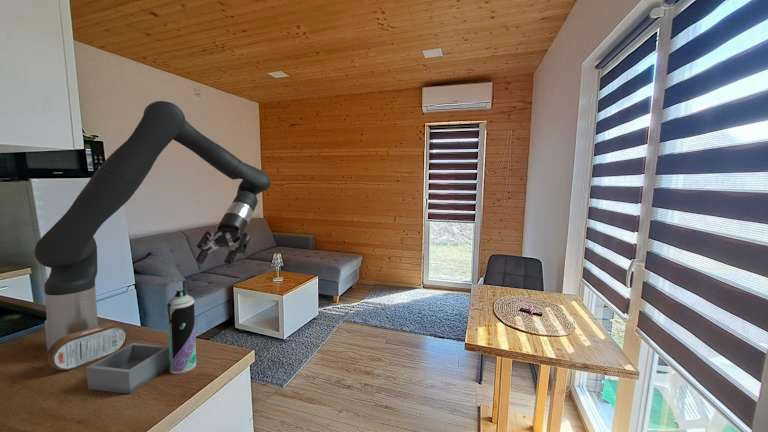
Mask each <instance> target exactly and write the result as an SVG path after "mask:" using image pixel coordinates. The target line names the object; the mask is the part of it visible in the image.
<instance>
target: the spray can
mask: <svg viewBox="0 0 768 432" xmlns="http://www.w3.org/2000/svg"><path fill="white" fill-rule="evenodd" d="M166 306H167V308H166V309H167V310H166V311H167V328H168V329H167V330H168V331H167V333H168V334H167V335H168V346H169V361H170V366H169V372H170V374H173V375H181V374H185V373H189V371H191V370H193V369H194V368H195V367H196V366H197V349H196V348H197V346H196V345H197V344H196V343H197V342H196V321H195V319H196V315H195V314H196V313H195V299H194V297H193V296H191V295H189V294H188V293H186V290H185V289H180V290H176V292H175V295H173V297H172V298H171V299H169V300H167V305H166Z"/></svg>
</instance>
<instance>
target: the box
mask: <svg viewBox="0 0 768 432" xmlns="http://www.w3.org/2000/svg"><path fill="white" fill-rule="evenodd" d="M168 368H170V361H169V345H158V344H148V343H147V344H146V343H139V342H138V343H137V342H132V343H130V344H128V345H126V346H123V347H122V348H121V349H120V350H119V351H117V352H115V353H113V354H111V355H109V356H107V357H104V358H101V359H99V360H97V361H96V362H94V363H92V364H91V365H88V366H87V367H86V379H87V380H86V381H87V389H89V390H95V391H103V392H111V393H112V392H113V393H121V394H126V395H127V394H128V395H129V394H133V393H134V392H135V391H137V390H138V389H139V388H141V387H142V386H144V385H145V384H147V383H148V382H149V381H151V380H152V379H154V378H155V377H157V376H158V375H160V374H161V373H162V372H164V371H165V370H167V369H168Z"/></svg>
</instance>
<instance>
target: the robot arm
mask: <svg viewBox="0 0 768 432" xmlns="http://www.w3.org/2000/svg"><path fill="white" fill-rule="evenodd" d="M185 117H186V115H185V114H184V112H183V110H182V108H180V107H179V106H178V105H177V104H174V103H172V102H170V101H166V100H158V101H157V100H156V101H154V102H151V103H150V104H148V105H147V106H146V107H145V108H144V110H143V115H142V117H141V118H140V119H141V120H140V121H139V123H138V124H137V126H136V127H135V129H134V131H133V132H132V134H130V136H129V137H128V138H127V140H125V141H124V142H123V143H122V144H121V145H120V146H119V147H117V149H115V150H114V151H113V152H112V153H110V155H109V156H108V157H107V158H106V159H105V160H104V161H103V162H102V163H101V164H100V166H99V167H98V169H97V170H96V171H95V172H94V174H93V175H92V176H91V178H90V179H89V180H88V182H87V183H86V184H85V186H84V187H83V189H82V190H80V192H79V194H78V195H77V197H76V198H75V200H74V201H73V203H72V204H71V205H70V207H69V208H68V210H66V212H65V213H64V214H63V215H62V216H61V217H60V218H59V220H57V221H56V222H55V224H54V225H52V227H51V228H50V229H48V231H47V232H46V233H45V234H43V236H42V237H40V238H39V240H38V241H37V243H36V244H35V247H34V257H35V258H36V261H37V262H38V263H39V264H40V265H42V266H43V267H46V268H49V269H50V272H49V276H48V278H47V279H46V281H45V282H44V285H43V288H44V289H43V290H44V301H45V310H46V311H45V313H46V320H45V321H44V333H45V343H46V353H47V352H48V350H49V348H50V347H51V346H52V345H53V344H54V343H55V342H56V341H57V340H59V339H60V338H62V337H64V336H66V335H69V334H72V333H76V332H79V331H83V330H86V329H90V328H93V327H97V326H99V323H98V322H99V321H98V309H97V308H98V307H97V293H96V292H97V291H96V277H97V274H98V245H97V242H96V239H95V237H94V236H95V234H96V233H97V231H99V229H100V228H101V226H102V225H103V224H104V223H105V222H106V221H107V220H108V219H109V218H110V217H112V216H113V215H114V214H115V213H116V212H117V211H119V210H120V209H121V208H122V207H123V206H125V204H126V203H127V202H128V201H130V199H131V198H132V197H133V196H134V194H135V193H136V192H137V190H138V189H139V188H140V186H141V185H142V183H143V182H144V181H145V178H147V176H148V174H149V172H150V171H151V169H152V168H153V166H154V164H155V163H156V161H157V159H158V158H159V156H160V154H161V153H162V152H163V151H164V149H166V148H167V146H169V144H170V143H171V142H172V141H175V142H177V143H178V144H180V145H182V146H184V147H185V148H186V149H188V150H190V151H191V152H193V153H194V154H195V155H197V156H198V157H199V158H201V159H202V160H204V161H205V162H206V163H207V164H209V165H210V166H211V167H213V168H214V169H216V170H217V171H218V172H220V173H222V175H224V176H226V177H227V178H229V179H231V180H241V181H240V182H239V185H238V187H237V192H236V196H235V197H234V199H233V200H232V203H231V204H230V205H229V207H228V208H227V209H226V211H225V213H224V215H223V216H222V218H221V220H220V221H219V223H218V224H217V230H216V231H215V232H214V233H213V232H210V231H209V230H207V231H205V232H204V234H203V236H202V237H201V238H200V240H199V241H198V243H197V244H196V248H198V250H200V251H199V253H198V255H197V256H196V259H195V260H196V262H197V263H198V264H199V265H203V264H204V263H205V261H206V259H207V257H208V255H209V254H210V252H212V251H215V250H217V249H219V248H230V250H228V253H227V255H226V256H225V259H224V264H225V265H226V266H231V265H232V264H233V262H234V261H235V259H236V257H237V256H238V255H239V254H240V253H241V254H245V253H246V251H247V248H248V245H249V243H250V241H251V236H250V235H249V233H248V232H246V229H247V228H248V225H249V223H250V221H251V219H252V216H253V213H254V212H255V209H256V208H257V205H258V201H259V200H258V197H257V195H259V194H261V193H263V192H265V191H266V190H268V189H269V188H270V186H271V179H270V178H269V175H268V174H267V173H266V172H264V171H263V170H261V169H259V168H257V167H255V166H253V165H251V164H249V163H245V162H243V161H242V160H241V159H240V158H238V157H237V156H236V155H235V154H233V153H231V151H229V150H227V149H226V148H224V147H222V146H221V145H220V144H218V143H217V142H215V141H213V140H212V139H210V138H208V137H207V136H206V135H204V134H203V133H202V132H200V131H199V130H197V128H195V127H194V126H192V124H190V123H189V121H188V120H187V119H186V118H185ZM237 242H239V243H238V244H237ZM214 243H215V244H214Z"/></svg>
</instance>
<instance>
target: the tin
mask: <svg viewBox="0 0 768 432" xmlns="http://www.w3.org/2000/svg"><path fill="white" fill-rule="evenodd" d="M128 338H129V332H128V329H127V328H126V327H125V326H123V325H122V324H121V323H118V322H107V323H104V324H101V325H98V326H97V327H93V328H90V329H86V330H83V331H79V332H76V333H72V334H69V335H66V336H64V337H62V338H60V339H59V340H57V341H56V342H55V343H54V344H53V345H52V346H51V347H50V348H49V350H48V352H47V351H46V357H45V358H46V362H47V364H48V365H49V366H50V367H52V368H53V369H54V370H58V371H70V370H74V369H76V368H77V369H78V368H79V367H82V366H85V365H87V364H90V363H92V362H95V361H96V362H97V361H100V360H102V359H104V358H105V357H107V356H109V355H111V354H113V353H115V352H117V351H119V350H121V349H122V348H124V347H125V345H126V344H127V341H128V340H129V339H128Z"/></svg>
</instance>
